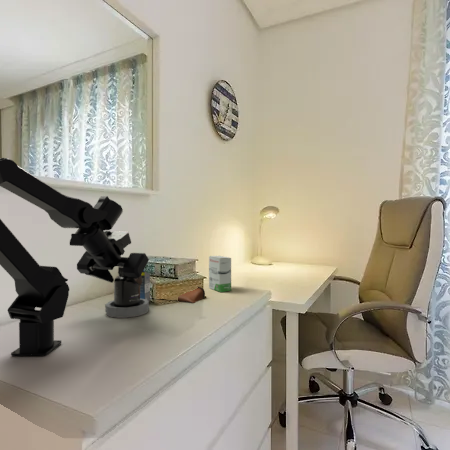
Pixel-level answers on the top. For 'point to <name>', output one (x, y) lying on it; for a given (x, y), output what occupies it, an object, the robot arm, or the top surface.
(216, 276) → the ink box
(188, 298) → the sunglasses case
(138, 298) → the supplement bottle
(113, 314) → the ring seat
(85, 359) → the top surface
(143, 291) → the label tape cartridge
